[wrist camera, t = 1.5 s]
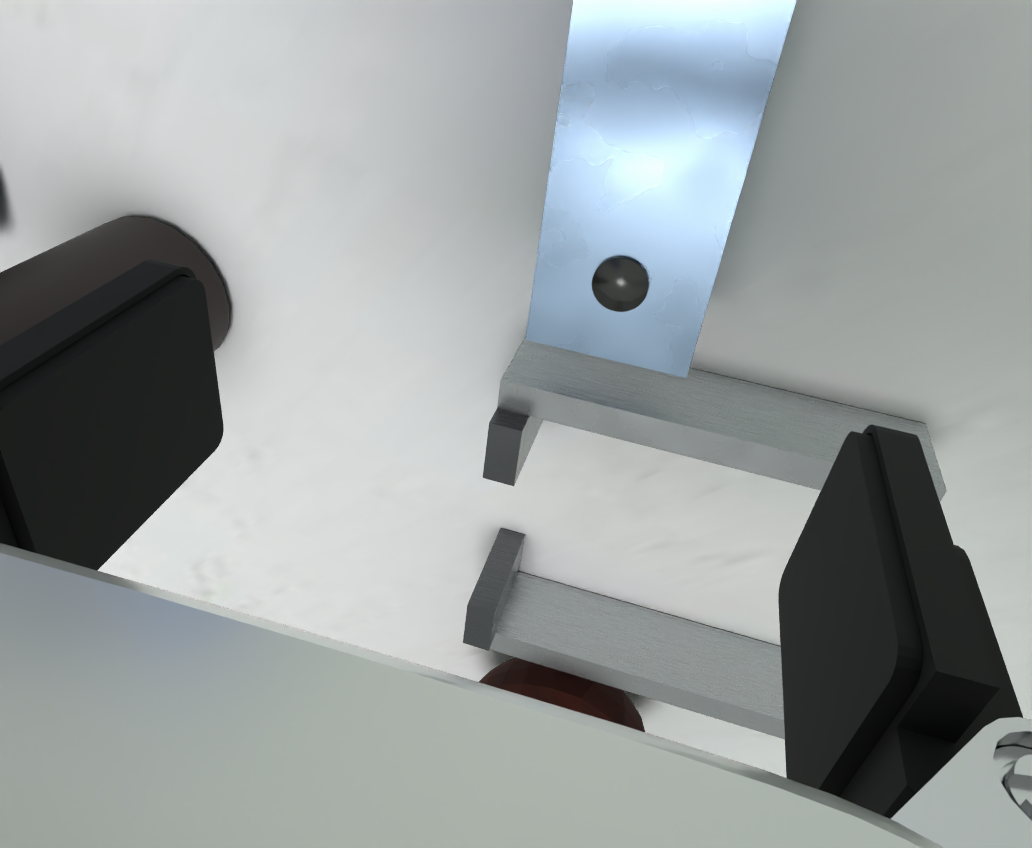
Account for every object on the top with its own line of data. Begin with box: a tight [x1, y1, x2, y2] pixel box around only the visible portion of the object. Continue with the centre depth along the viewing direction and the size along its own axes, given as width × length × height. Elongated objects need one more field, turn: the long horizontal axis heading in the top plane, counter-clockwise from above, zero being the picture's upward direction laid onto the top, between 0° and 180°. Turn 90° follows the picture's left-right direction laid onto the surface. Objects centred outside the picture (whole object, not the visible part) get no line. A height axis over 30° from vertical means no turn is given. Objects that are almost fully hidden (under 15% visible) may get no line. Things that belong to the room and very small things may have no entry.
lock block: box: [525, 0, 797, 378], centre depth 23 cm, size 5×10×6 cm, turn 173°
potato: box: [479, 657, 645, 732], centre depth 37 cm, size 8×9×8 cm
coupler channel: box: [463, 337, 946, 739], centre depth 31 cm, size 15×14×5 cm
